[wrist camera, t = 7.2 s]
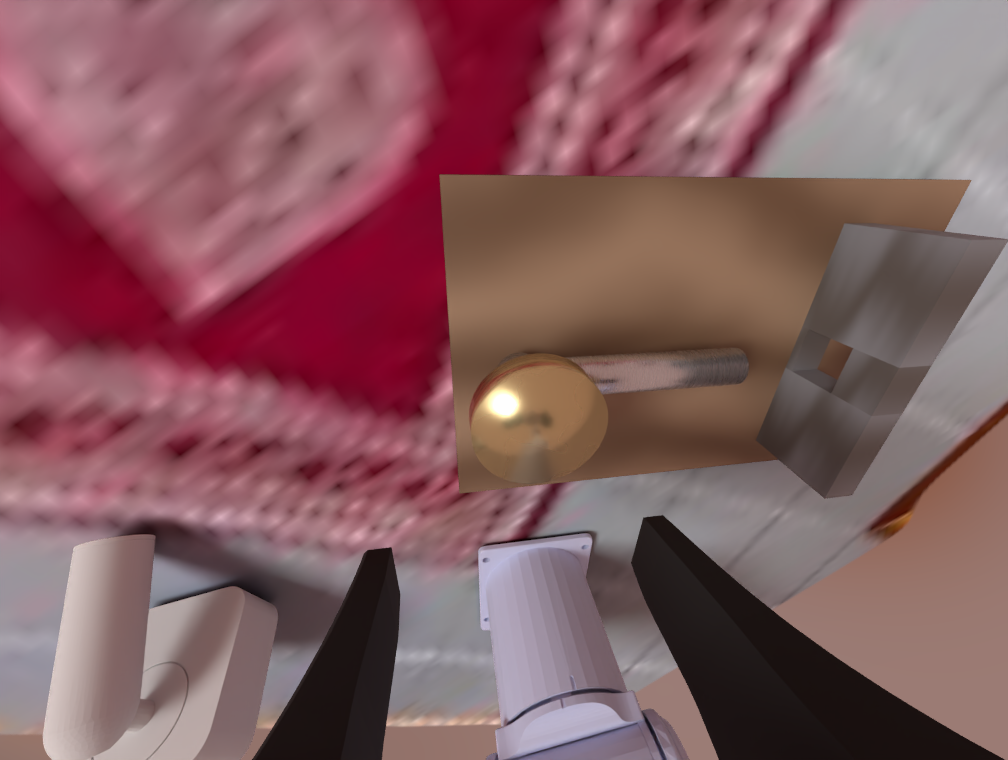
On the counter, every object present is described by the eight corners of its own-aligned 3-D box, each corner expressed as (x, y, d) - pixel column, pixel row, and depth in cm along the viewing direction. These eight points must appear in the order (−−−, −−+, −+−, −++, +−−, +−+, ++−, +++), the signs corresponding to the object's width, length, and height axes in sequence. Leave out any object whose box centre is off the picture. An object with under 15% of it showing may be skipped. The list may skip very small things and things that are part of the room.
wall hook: (176, 498, 20) (47, 769, 13) (289, 569, 27) (248, 768, 20) (21, 540, 20) (-200, 840, 12) (176, 601, 27) (93, 813, 19)
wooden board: (810, 443, 26) (902, 510, 21) (458, 478, 23) (465, 569, 18) (941, 179, 18) (1139, 183, 13) (439, 174, 15) (441, 176, 10)
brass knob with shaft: (708, 400, 20) (776, 458, 16) (465, 419, 19) (473, 489, 14) (737, 310, 18) (825, 351, 14) (460, 322, 16) (469, 373, 12)
